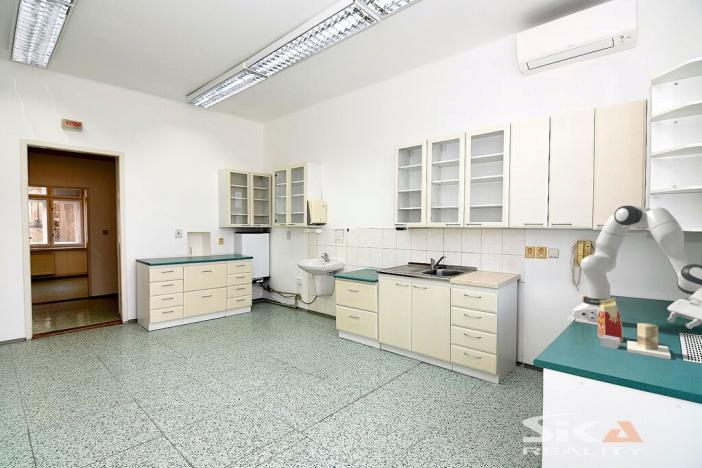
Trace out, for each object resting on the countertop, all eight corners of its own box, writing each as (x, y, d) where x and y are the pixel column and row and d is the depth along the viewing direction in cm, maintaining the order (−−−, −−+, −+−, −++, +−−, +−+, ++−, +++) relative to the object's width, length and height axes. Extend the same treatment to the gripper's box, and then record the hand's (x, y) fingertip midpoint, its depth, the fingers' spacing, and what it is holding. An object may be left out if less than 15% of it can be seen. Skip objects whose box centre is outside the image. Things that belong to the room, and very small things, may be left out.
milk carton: (616, 336, 174) (616, 296, 174) (624, 341, 166) (624, 299, 165) (595, 334, 177) (594, 295, 177) (601, 339, 169) (601, 298, 168)
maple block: (645, 349, 150) (645, 326, 150) (637, 345, 155) (637, 323, 155) (658, 349, 150) (658, 326, 150) (649, 345, 155) (649, 323, 155)
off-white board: (627, 352, 151) (627, 348, 151) (627, 343, 162) (627, 340, 162) (670, 359, 143) (670, 355, 143) (667, 349, 154) (667, 346, 154)
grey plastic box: (600, 346, 160) (600, 337, 160) (604, 343, 164) (604, 334, 164) (616, 349, 156) (616, 340, 156) (620, 346, 159) (620, 337, 159)
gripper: (677, 292, 160) (654, 313, 162) (719, 302, 140) (692, 325, 141) (688, 302, 160) (665, 323, 161) (731, 313, 140) (704, 336, 141)
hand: (678, 324), depth 151 cm, fingers open, 8 cm apart
